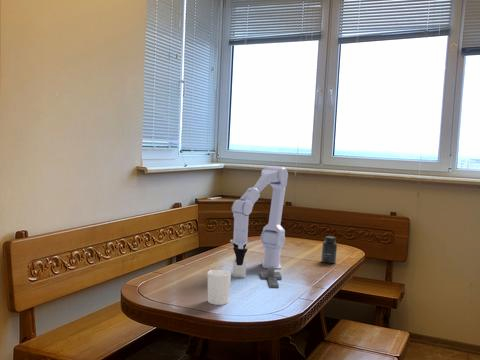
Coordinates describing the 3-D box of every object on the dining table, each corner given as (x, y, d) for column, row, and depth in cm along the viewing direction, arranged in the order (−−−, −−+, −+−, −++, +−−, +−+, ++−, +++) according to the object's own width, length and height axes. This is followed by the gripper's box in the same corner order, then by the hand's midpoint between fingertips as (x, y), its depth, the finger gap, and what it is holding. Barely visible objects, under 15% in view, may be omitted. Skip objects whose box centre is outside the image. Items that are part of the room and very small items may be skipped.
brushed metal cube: (232, 273, 203) (232, 259, 202) (244, 274, 203) (245, 259, 202) (232, 277, 197) (233, 262, 197) (245, 277, 198) (246, 262, 197)
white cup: (229, 298, 170) (230, 270, 169) (229, 306, 162) (231, 276, 161) (206, 297, 170) (207, 269, 169) (205, 305, 162) (207, 275, 161)
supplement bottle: (325, 264, 226) (326, 238, 225) (318, 260, 233) (320, 235, 232) (338, 263, 228) (340, 238, 227) (332, 260, 235) (333, 235, 234)
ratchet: (260, 274, 204) (260, 264, 204) (279, 274, 205) (279, 264, 204) (263, 287, 185) (264, 276, 185) (284, 287, 186) (285, 276, 185)
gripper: (230, 226, 206) (229, 258, 207) (231, 232, 191) (229, 266, 192) (247, 227, 206) (245, 259, 207) (249, 233, 192) (247, 267, 192)
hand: (239, 262), depth 200 cm, fingers open, 7 cm apart
